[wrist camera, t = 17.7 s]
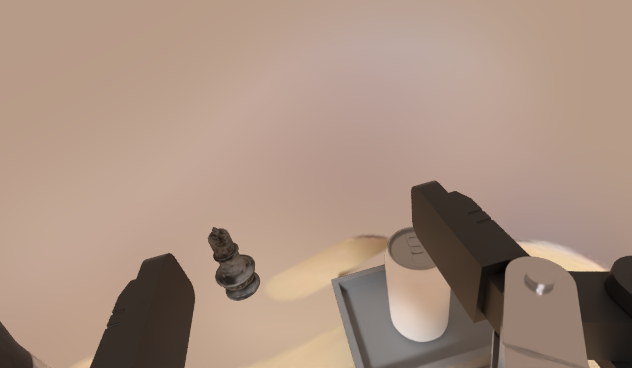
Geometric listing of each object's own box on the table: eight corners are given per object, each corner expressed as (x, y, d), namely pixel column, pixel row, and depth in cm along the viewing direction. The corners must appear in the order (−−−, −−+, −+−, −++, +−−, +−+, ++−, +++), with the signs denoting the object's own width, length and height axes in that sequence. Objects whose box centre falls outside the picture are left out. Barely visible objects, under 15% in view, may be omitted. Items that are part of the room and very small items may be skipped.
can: (395, 346, 36) (388, 276, 29) (386, 296, 41) (378, 227, 34) (456, 341, 35) (462, 269, 28) (439, 291, 40) (441, 220, 33)
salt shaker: (255, 264, 52) (230, 206, 45) (266, 289, 47) (240, 230, 40) (220, 281, 50) (188, 224, 43) (228, 309, 45) (194, 251, 39)
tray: (366, 406, 32) (363, 392, 31) (334, 293, 44) (331, 279, 42) (532, 355, 33) (538, 339, 32) (458, 258, 45) (459, 242, 43)
